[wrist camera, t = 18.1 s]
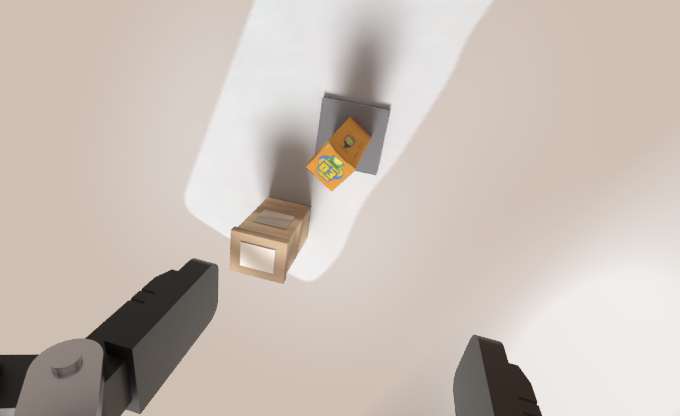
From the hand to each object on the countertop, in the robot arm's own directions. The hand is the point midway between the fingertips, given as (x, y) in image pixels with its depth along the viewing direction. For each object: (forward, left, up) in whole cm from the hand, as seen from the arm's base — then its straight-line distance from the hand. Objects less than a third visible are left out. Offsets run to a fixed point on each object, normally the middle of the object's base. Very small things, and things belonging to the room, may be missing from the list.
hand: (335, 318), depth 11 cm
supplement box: (+2, -4, -29) cm, 29 cm away
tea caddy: (+13, -10, -29) cm, 33 cm away
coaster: (+2, -4, -29) cm, 29 cm away
